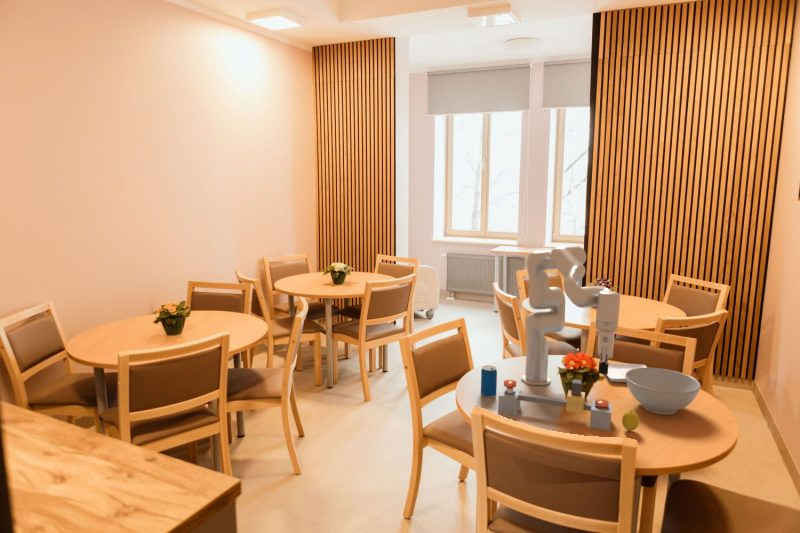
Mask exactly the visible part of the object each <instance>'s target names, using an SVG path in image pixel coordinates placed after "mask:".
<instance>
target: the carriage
mask: <svg viewBox="0 0 800 533" xmlns="http://www.w3.org/2000/svg"><path fill="white" fill-rule="evenodd" d="M582 382H583V381H582V380H581V379H574V378H573V379H572V381H571V390H570V389H568V392H567V395H566V400H567V407H565V408H566V409H565V410H566V412H570V413H577V414H582V415H583V414H584V411H585V410H584V403H586V392H584V391H582V385H583V384H582Z"/></svg>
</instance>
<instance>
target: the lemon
mask: <svg viewBox="0 0 800 533" xmlns="http://www.w3.org/2000/svg"><path fill="white" fill-rule="evenodd" d="M621 418H622V420H621V422H622V426H623V428H624V429H626V430H627V431H628V432H631V431H632V432H633V431H634V430H636V429H637V428H638V427H639V422H640V420H639V416H638V414H637V413H636V412H635V411H633V410H632V409H630V410H627V411H625V412H624V413H623V415H622V417H621Z"/></svg>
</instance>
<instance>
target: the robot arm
mask: <svg viewBox="0 0 800 533" xmlns="http://www.w3.org/2000/svg"><path fill="white" fill-rule="evenodd" d="M586 260H587V253H586V251H585V250H584V248H583V247H582V246H579V245H560V246H557V247H554V248H553V249H549V250H547V249H546V250H544V249H543V250H542V249H541V250H536V251H533V252H531V253H530V254H529V255H528V257H527V258H526V268H527V273H528V303H529V307H530V308H531V309H533V310H548V311H536V312H532V313H531V312H530V313H529V314H528V315H526V317H525V319H524V325H525V326H524V327H525V333H526V348H525V349H526V351H525V352H526V354H525V374H523V375H522V376H521V381H522V382H523V383H525V384H527V385H531V386H547V385H550V383H551V378H550V377H549V376H548V368H549V367H548V364H549V362H548V361H549V341H548V339H547V338H546V336H545V334H551V333H558V332H562V330H563V329H564V328H565V324H566V323H565V322H566V296H567V298H568V299H569V301H570V302H571V303H573V305H575V306H576V307H578V308H581V309H582V308H592V307H593V308H594V307H596V316H595V327H594V328H595V329H596V330H597V331H598V336H597V337H598V338H597V342H598V343H597V356H598V357H599V362H598V374H601V375H607V374H608V364H609V363H610V362H609V359H613V357H614V356H613V355H614V346H615V345H614V344H615V332H617V331H618V329H619V327H618V326H619V315H620V303H621V295H620V293H619V292H617V291H614V290H610V289H609V288H608V287H606V286H603V285H598V286H597V285H596V286H593V285H592V286H582V287H581V286H580V285H578V283H577V282H580V280H582V279H583V278H584V277H585V274H586V267H585V266H584V264H585V263H586ZM554 270H555V271H557V270H558V272H559V273H560V274H561V276H563V277H564V281H563V288H564V291H563V290H562V289H561V287H557V286H550V278H549V275H548V274H547V272H546V271H554Z"/></svg>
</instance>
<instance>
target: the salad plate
mask: <svg viewBox="0 0 800 533" xmlns="http://www.w3.org/2000/svg"><path fill="white" fill-rule="evenodd" d="M608 363H609V364H608V374H606V376H607V378H608V379H609V381H611V382H615V383H619V382H626V378H625V374H626V372H628V371H629V370H632V369H636V368H648V367H647V365H645V364H642V363H641V364H640V363H639V364H638V363H625V362H624V363H621V362H619V363H618V362H616V363H615V362H612V363H611V362H608ZM623 374H624V375H623Z"/></svg>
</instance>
